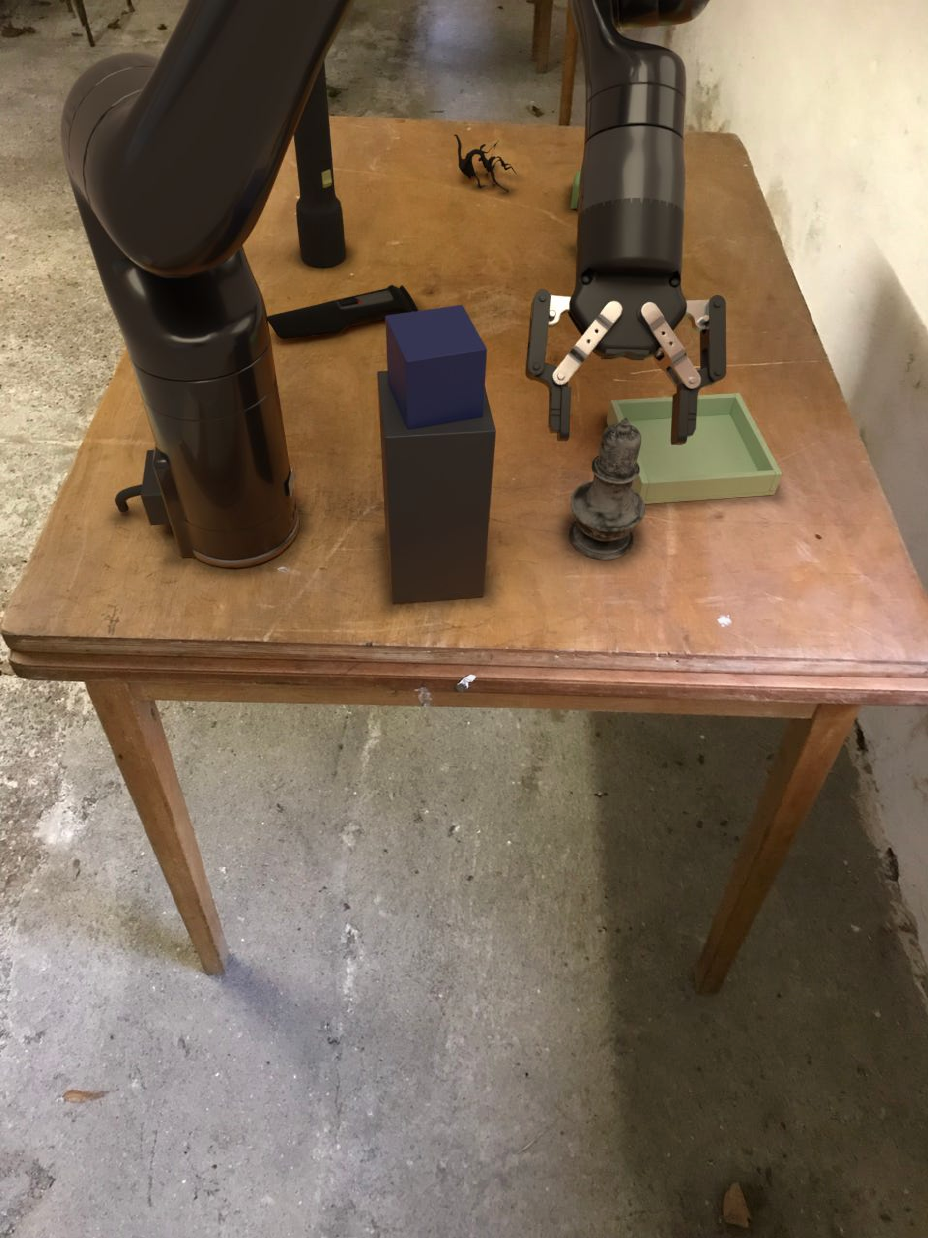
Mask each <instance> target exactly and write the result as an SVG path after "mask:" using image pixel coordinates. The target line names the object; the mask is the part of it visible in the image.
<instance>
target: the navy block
mask: <svg viewBox="0 0 928 1238" xmlns="http://www.w3.org/2000/svg"><path fill="white" fill-rule="evenodd" d="M384 320H385V321H384V322H385V341H386V342H385V343H386V346H385V347H386V368H387V369H386V371H387V372H388V384H389V387H390V389H391V391H392V394H393V396H394V398H395V401H396V403H397V405H398V408H399V410H400V412H401V415H402V417H403V419H404V422H405V424H406V426H407V429H408V430H409V429H415V428H420V427H426V426H432V425H438V424H443V423H449V422H455V421H461V420H466V419H472V418H478V417H483V410H484V394H485V388H486V376H487V375H486V374H487V359H488V357H487V356H488V348H487V346H486V345H485V343H484V341H483V339H482V338H481V336H480V334H479V332H478V330H477V329H476V327H475V324H474V323H473V321H472V320H471V318H470V317H469V315H468V313H467V310H466V309H465V307H464V305H463V304H456V305H451V306H444V307H443V306H442V307H437V308H436V307H435V308H431V309H430V308H429V309H423V310H422V309H421V310H418V311H415V312H408V313H401V314H394V315H388V316H385V319H384Z"/></svg>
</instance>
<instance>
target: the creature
mask: <svg viewBox="0 0 928 1238" xmlns="http://www.w3.org/2000/svg"><path fill="white" fill-rule="evenodd" d="M453 137H455V138H456V141H457V146H458V147H457V155H458V158H457V159H458V168H459V170H460V172H461V173H462V174H463V175H464V176H465V177H467V179H468V180H469V181H470V180H471V178H473V177H475V179H476V181H477V187H478V188H479V189H481V188H484V187H488V185H485V184H482V185H481V181H480V179H479V177H478V176H477V174H478V173H479V172H478V171H475V168H474V164H473V157H474V156H475V155H477V156H480V157H479V158H478V159H477V162H482V165H483V168H484V169H485V170H486V172H487V173H482V172H481V174H483V175H485V176H487V177H488V176H489V173H490V176H491V180H492V182H493V183H492V186H496V187H499V188H500V189H502V190H504V191H506V192H510V190H509V189H508V188H505V187H503V186H502V185H500V184H499V183H498V181H497V180H496V177H495V172H494V169H495V166H496V164H497V163H498V162H500V165H501V167H502V168H503V170H504V171H509V170H510V169H511V170H512V172H513V173H514V174H515V175H517V172H516V171H515V169H514V167H513V166H512V165H511V163H505V161H504V160H503V159H502V157H501V156H499V155H498V156H494V155H491V156H490V157H489V158H487V157H486V154H489V152H490V151H491V150H492V148H493V150H495V148H496V146H497V144H498V143H499V141H496V143H494V144H493V145H492V146H491V148H490V149H488V151H484V150H483V149H484V148H485V146H486V145H487V144H486V143H483V144H481V145H480V146H479V149H478V148H474V149H472V150H470V151H469V152H467V153H466V155H465V157H464V158H463V157H462V147H463V145H462V141H461V139H460V136H458V134H453ZM496 159H497V160H496ZM494 160H496V161H495V162H494ZM493 162H494V164H493ZM507 166H508V167H507Z"/></svg>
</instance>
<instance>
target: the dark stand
mask: <svg viewBox="0 0 928 1238" xmlns="http://www.w3.org/2000/svg"><path fill="white" fill-rule="evenodd" d="M376 376H377V377H376V378H377V397H378V415H379V418H378V419H379V437H380V438H379V439H380V456H381V457H380V458H381V476H382V494H383V495H382V497H383V515H384V516H383V517H384V535H385V548H386V556H387V564H388V574H389V582H390V583H389V584H390V592H391V601H392V605H400V604H412V603H426V602H437V601H438V602H439V601H449V600H462V599H476V598H483V597H484V596H485V585H486V571H487V557H488V544H489V530H490V516H491V505H492V489H493V479H494V466H495V465H494V463H495V449H496V439H497V437H496V436H497V430H496V425H495V422H494V417H493V413H492V408H491V405H490V401H489V396H488V392H487V388H486V387H485V394H484V410H483V417H478V418H472V419H466V420H461V421H455V422H449V423H443V424H438V425H432V426H426V427H420V428H415V429H409V430H408V429H407V426H406V424H405V422H404V419H403V417H402V415H401V412H400V410H399V408H398V405H397V403H396V401H395V398H394V396H393V394H392V391H391V389H390V387H389V384H388V372H387V370H377V372H376Z"/></svg>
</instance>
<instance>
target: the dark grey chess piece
mask: <svg viewBox="0 0 928 1238" xmlns="http://www.w3.org/2000/svg"><path fill="white" fill-rule="evenodd" d="M640 446H641V434H640V432H639V431H638V430H637V428H636V427H634V426H632V425H630V421H629V420H628V419H627V418H624V419H623V420H621V421H620V423H614V424H612V425H610V426H608V425H607V427H606V428H605V429H604V431H603V433H602V435H601V440H600V446H599V451H598V455H596V456H595V457H594V458H593V460H592V461H591V470H592V472H593V478H592V480H590V481H586V482H584V483H582V484H580V485H579V486H577V487H576V488H575V490H574V491H573V492H572V494H571V496H570V509H571V512H572V514H573V517H574V520H573V521H572V522H571V525H570V527H569V530H568V538H569V542H570V543H571V544H572V546H573V548H574V549H575V550H576V551H578V552H579V553H580V554H582V555H583V556H585V557H587V558H591V559H594V560H600V561H611V560H616V559H619V558H621V557H623V556H625V555H627V553H629V552H630V551H631V549H632V548H633V545H634V534H633V530H634V529H635V528H636V527H637V526H638V525H639V523H641V521H643V518H644V517H645V514H646V504H644V502H643V499H642V498H641V496H640V495H639V494H638V493H637V492H636V491H635V490H634V489H633V488H632V484H633V480H635V479H636V478H637V477H638V475H639V473H640V468H639V465H638V463H637V458H638V454H639V450H640Z"/></svg>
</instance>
